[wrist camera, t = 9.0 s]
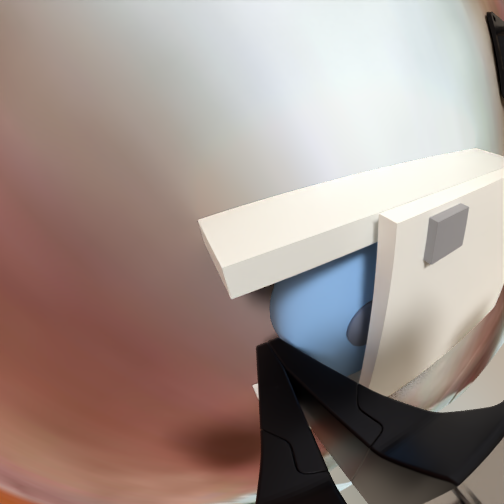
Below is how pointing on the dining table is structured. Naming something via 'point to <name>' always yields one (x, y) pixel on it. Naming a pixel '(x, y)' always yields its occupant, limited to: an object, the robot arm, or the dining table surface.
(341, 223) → the white channel bracket
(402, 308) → the cover
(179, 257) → the dining table surface
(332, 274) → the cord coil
